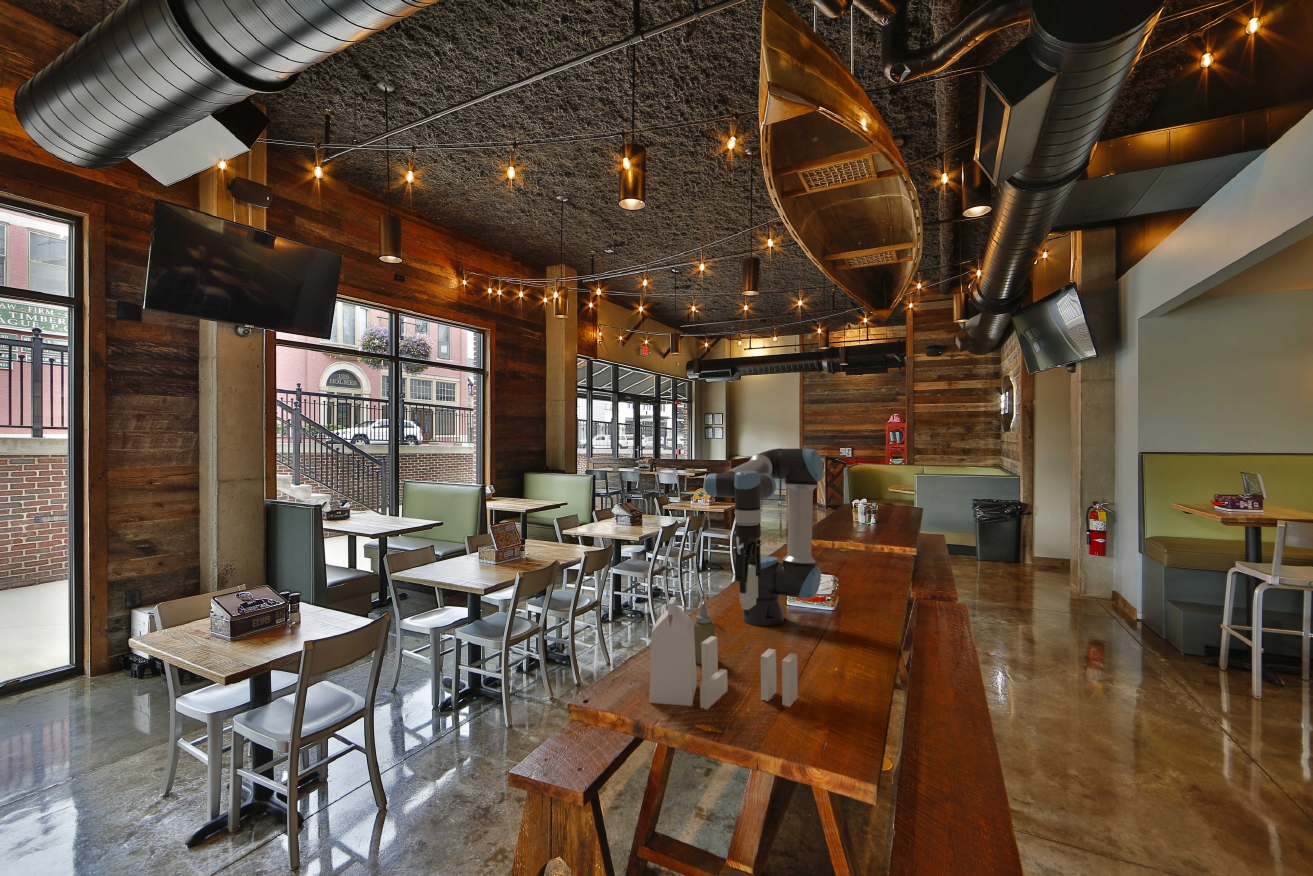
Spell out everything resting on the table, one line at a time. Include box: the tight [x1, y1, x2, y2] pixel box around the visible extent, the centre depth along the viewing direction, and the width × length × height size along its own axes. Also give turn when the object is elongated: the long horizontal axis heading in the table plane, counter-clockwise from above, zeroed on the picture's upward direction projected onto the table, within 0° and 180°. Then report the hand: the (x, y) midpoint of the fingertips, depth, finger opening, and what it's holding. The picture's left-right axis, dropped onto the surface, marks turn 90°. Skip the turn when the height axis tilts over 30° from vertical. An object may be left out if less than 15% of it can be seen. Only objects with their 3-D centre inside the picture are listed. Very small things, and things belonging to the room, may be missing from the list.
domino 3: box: [741, 564, 756, 610], centre depth 171 cm, size 2×6×12 cm, turn 147°
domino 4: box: [760, 647, 777, 702], centre depth 155 cm, size 2×6×12 cm, turn 147°
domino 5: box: [781, 652, 799, 708], centre depth 152 cm, size 2×6×12 cm, turn 147°
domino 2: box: [699, 668, 728, 710], centre depth 155 cm, size 2×6×12 cm
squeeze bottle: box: [693, 603, 716, 666], centre depth 179 cm, size 8×8×18 cm
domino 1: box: [701, 636, 719, 684], centre depth 165 cm, size 2×6×12 cm, turn 147°
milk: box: [648, 596, 698, 707], centre depth 158 cm, size 12×12×26 cm
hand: (748, 600), depth 171 cm, fingers closed on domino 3, 6 cm apart
